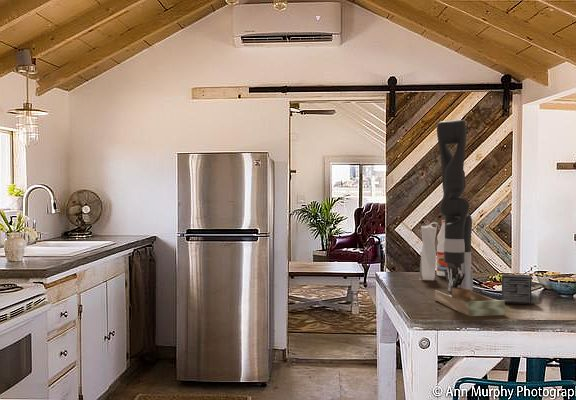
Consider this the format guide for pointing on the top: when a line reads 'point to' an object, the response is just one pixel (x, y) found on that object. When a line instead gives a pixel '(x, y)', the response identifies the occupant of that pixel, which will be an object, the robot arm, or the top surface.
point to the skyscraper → (428, 253)
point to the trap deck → (473, 304)
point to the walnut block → (461, 293)
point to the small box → (516, 289)
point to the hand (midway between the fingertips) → (453, 295)
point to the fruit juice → (441, 251)
